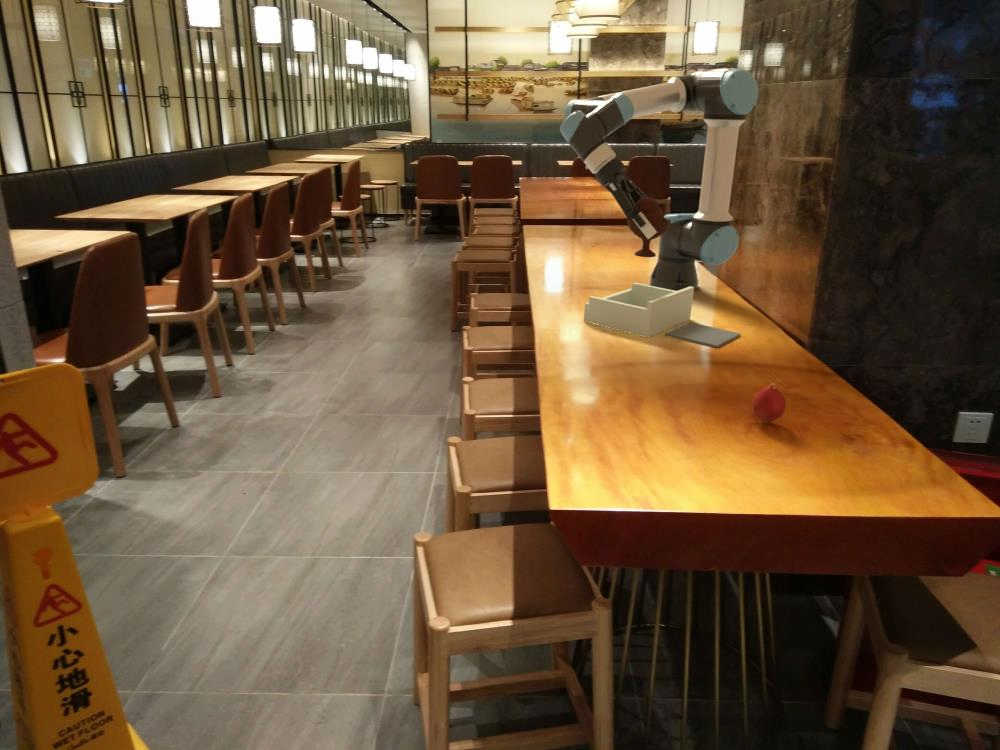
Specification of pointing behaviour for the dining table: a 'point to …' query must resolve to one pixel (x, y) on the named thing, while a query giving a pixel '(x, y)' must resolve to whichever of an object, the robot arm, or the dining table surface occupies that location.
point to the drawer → (641, 309)
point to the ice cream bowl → (655, 218)
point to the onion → (769, 404)
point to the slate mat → (703, 334)
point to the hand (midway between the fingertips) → (658, 232)
